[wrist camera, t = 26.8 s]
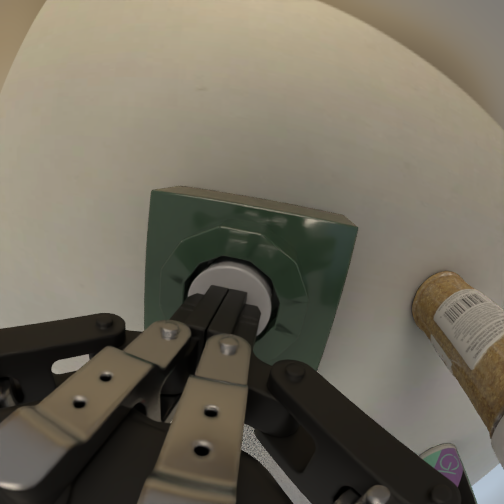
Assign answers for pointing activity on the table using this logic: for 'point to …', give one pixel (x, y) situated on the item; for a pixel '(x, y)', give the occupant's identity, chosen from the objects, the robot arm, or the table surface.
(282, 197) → the table surface
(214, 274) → the grey short cylinder
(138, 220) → the table surface
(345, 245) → the push button box
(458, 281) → the sprinkles bottle
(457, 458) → the spray can
